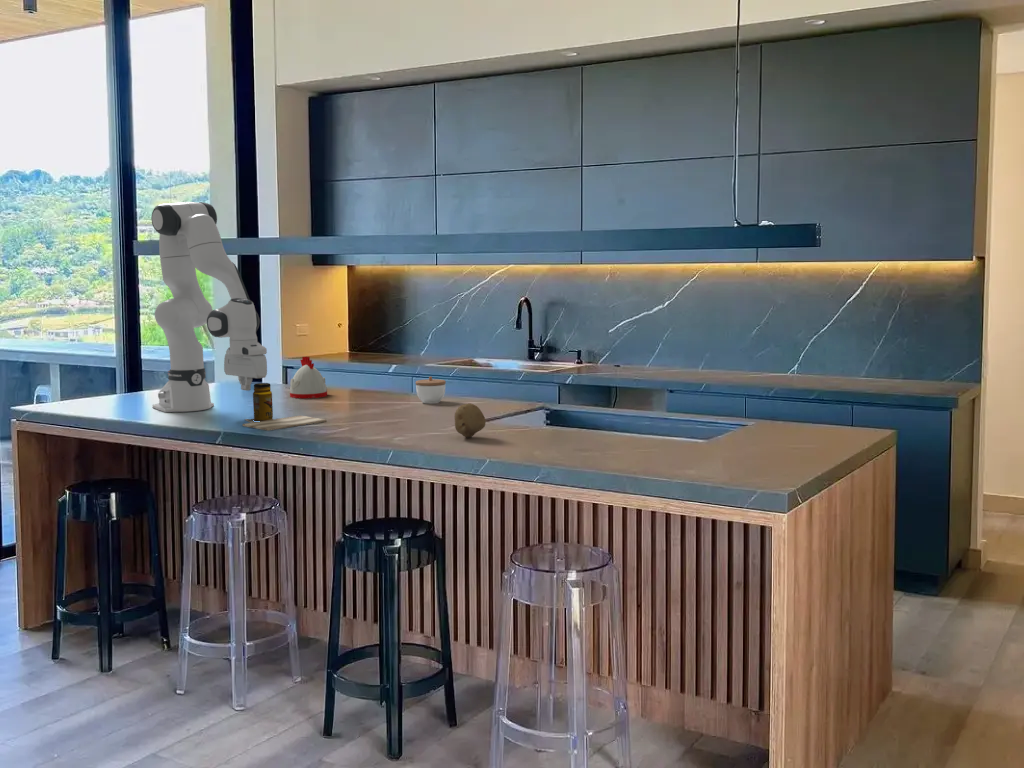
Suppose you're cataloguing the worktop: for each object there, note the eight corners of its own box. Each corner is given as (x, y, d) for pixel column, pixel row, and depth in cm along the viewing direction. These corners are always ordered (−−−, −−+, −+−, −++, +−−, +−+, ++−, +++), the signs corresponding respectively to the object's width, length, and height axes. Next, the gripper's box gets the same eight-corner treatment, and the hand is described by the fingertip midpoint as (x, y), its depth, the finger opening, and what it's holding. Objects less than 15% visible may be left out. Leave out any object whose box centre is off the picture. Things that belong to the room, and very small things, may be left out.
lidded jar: (449, 400, 378) (448, 374, 377) (442, 404, 368) (441, 378, 367) (420, 400, 380) (419, 374, 379) (412, 404, 370) (411, 378, 369)
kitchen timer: (314, 392, 405) (313, 354, 404) (334, 395, 395) (332, 356, 393) (283, 396, 396) (281, 356, 394) (302, 399, 386) (300, 359, 384)
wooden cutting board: (242, 425, 328) (242, 424, 328) (300, 417, 344) (300, 415, 344) (268, 430, 319) (267, 428, 318) (326, 421, 334) (326, 419, 334)
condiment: (277, 420, 338) (275, 384, 337) (252, 423, 333) (250, 386, 332) (269, 417, 344) (267, 381, 343) (244, 420, 339) (242, 383, 338)
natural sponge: (489, 435, 306) (488, 401, 304) (481, 440, 297) (480, 406, 296) (459, 434, 308) (458, 401, 306) (450, 439, 299) (449, 405, 298)
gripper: (218, 347, 346) (220, 388, 348) (252, 350, 332) (254, 393, 334) (234, 345, 350) (236, 386, 352) (269, 349, 337) (271, 391, 338)
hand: (245, 390), depth 343 cm, fingers closed
